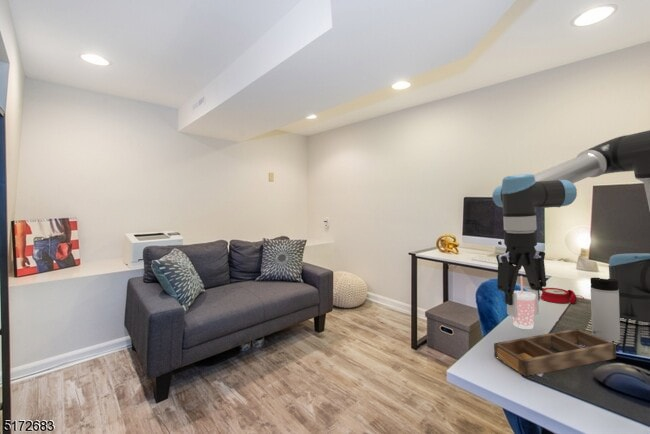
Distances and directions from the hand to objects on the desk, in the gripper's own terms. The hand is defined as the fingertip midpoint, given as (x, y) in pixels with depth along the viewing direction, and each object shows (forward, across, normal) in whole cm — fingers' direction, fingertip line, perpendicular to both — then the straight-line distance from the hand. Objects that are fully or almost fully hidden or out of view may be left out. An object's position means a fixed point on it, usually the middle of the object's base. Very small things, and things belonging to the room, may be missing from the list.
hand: (522, 314), depth 81 cm
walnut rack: (+14, -10, 0) cm, 17 cm away
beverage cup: (+4, 0, 0) cm, 4 cm away
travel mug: (+14, -32, -3) cm, 35 cm away
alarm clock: (+14, -53, -35) cm, 65 cm away
